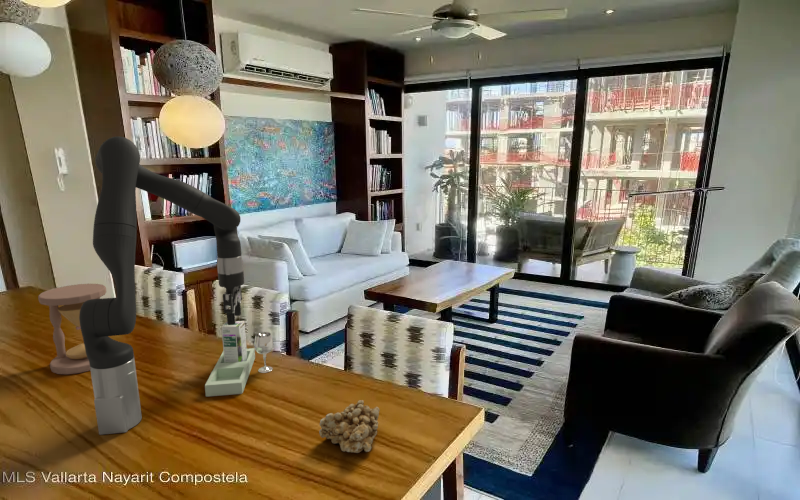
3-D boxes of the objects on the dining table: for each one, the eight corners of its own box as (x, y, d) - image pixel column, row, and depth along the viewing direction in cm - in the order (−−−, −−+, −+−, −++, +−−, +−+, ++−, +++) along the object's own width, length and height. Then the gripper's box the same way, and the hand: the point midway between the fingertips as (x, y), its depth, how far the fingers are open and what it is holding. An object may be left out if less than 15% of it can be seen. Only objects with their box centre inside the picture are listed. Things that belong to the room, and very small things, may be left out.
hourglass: (127, 352, 152) (118, 284, 147) (87, 376, 135) (75, 299, 130) (81, 350, 154) (70, 282, 149) (36, 373, 137) (22, 297, 132)
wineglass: (277, 366, 142) (275, 331, 140) (270, 374, 136) (268, 338, 134) (260, 365, 143) (258, 331, 140) (253, 373, 137) (250, 338, 135)
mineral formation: (313, 441, 103) (357, 410, 115) (353, 473, 96) (396, 437, 107) (314, 414, 101) (359, 385, 112) (355, 445, 93) (399, 411, 104)
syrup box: (224, 369, 139) (220, 326, 136) (231, 360, 144) (227, 319, 142) (242, 369, 139) (238, 326, 136) (248, 360, 145) (245, 319, 142)
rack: (242, 393, 125) (241, 382, 124) (205, 396, 123) (204, 385, 123) (255, 357, 148) (254, 348, 147) (224, 359, 146) (223, 350, 146)
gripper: (223, 266, 141) (227, 313, 144) (211, 276, 127) (216, 328, 130) (247, 265, 142) (250, 312, 145) (238, 275, 128) (242, 327, 131)
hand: (234, 319), depth 138 cm, fingers open, 8 cm apart
